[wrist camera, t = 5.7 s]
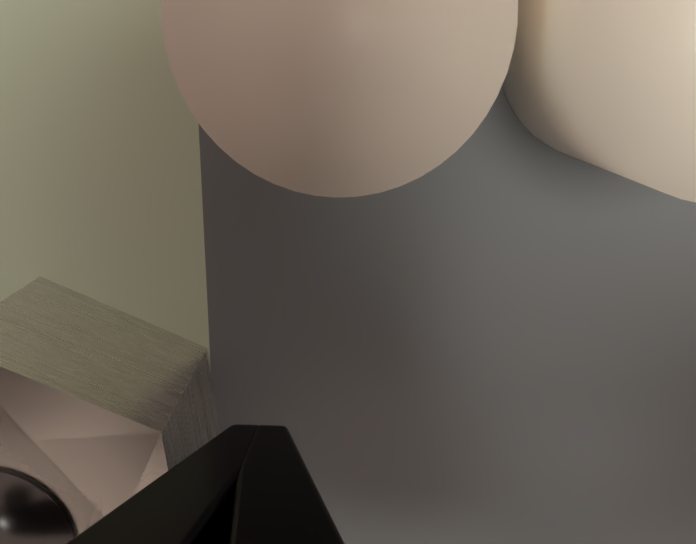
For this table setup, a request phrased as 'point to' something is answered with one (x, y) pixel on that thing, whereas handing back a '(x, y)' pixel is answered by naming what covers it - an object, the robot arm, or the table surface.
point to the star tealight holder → (89, 410)
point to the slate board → (372, 297)
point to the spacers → (436, 84)
